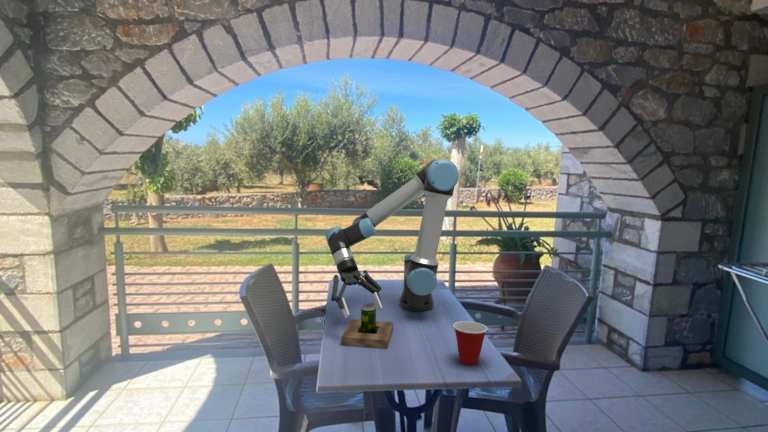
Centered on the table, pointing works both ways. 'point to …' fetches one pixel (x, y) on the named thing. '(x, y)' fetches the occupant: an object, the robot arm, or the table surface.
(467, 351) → the plastic cup
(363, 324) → the beer can
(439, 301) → the table surface
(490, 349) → the table surface
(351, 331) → the socket block
